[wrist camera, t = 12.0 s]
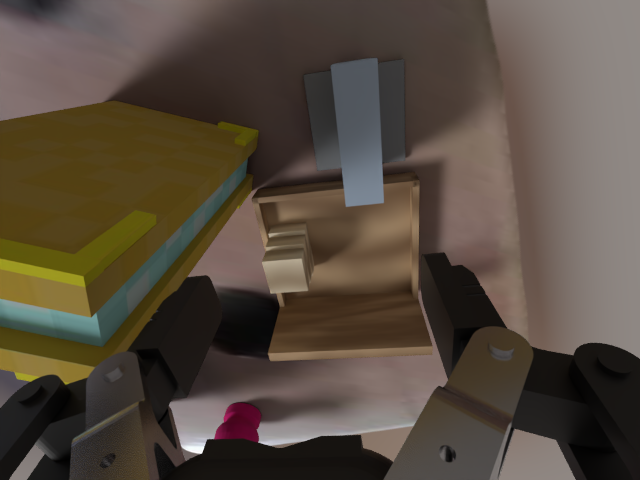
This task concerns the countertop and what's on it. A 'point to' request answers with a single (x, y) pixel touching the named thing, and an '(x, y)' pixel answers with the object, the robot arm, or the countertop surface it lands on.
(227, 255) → the countertop surface
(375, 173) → the block
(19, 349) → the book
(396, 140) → the mat
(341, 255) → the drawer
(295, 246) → the offcut middle
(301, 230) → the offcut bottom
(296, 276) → the offcut top
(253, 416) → the pepper mill
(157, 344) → the robot arm
